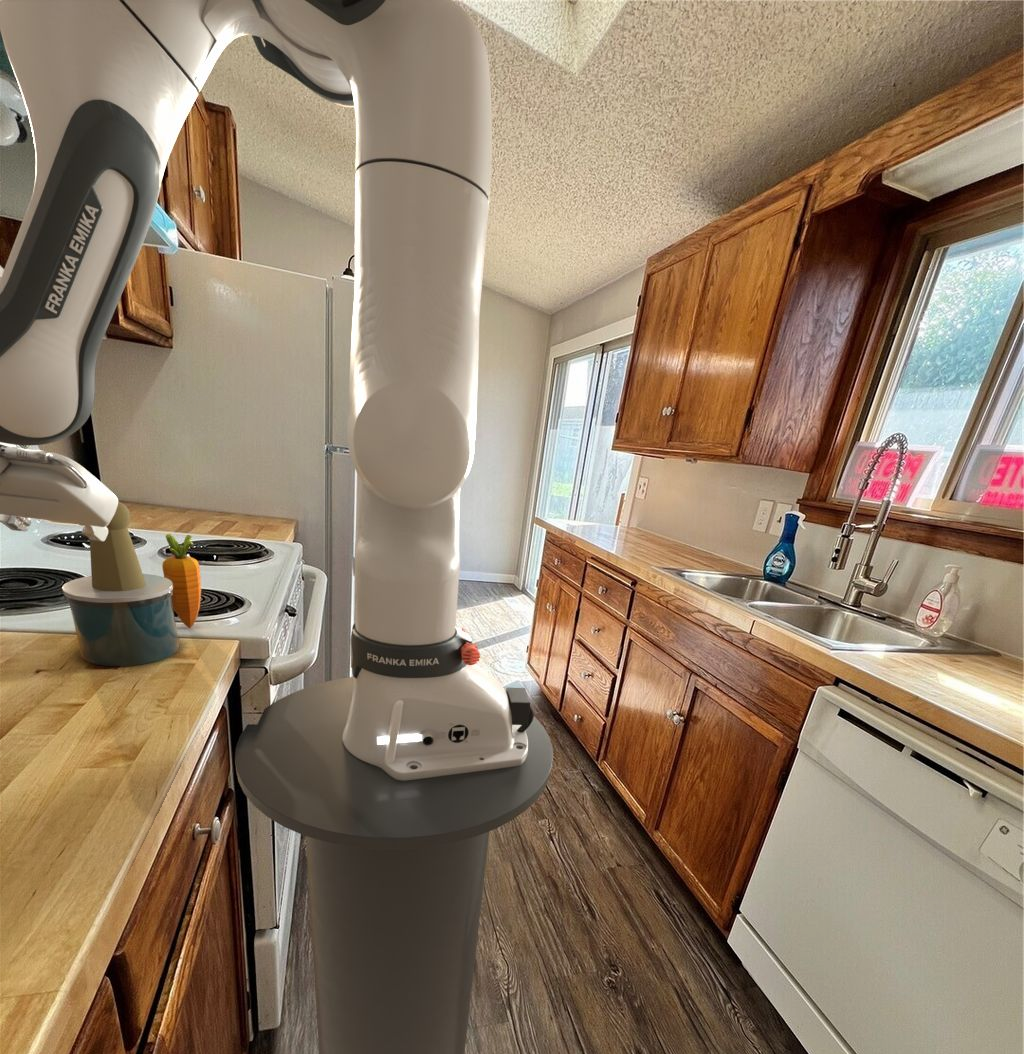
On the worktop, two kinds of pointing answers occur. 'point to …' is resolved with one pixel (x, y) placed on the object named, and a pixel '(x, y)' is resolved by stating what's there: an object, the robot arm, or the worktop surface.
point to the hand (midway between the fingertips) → (62, 531)
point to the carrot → (183, 580)
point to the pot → (123, 622)
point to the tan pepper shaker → (116, 557)
